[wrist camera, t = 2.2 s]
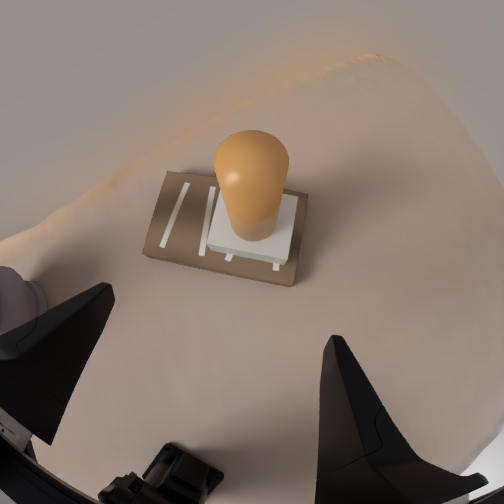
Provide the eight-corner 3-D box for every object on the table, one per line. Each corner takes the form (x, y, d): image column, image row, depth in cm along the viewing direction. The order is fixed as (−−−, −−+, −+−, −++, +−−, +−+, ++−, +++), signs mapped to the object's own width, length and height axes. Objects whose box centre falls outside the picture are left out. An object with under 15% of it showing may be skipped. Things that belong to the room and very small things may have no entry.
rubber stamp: (284, 265, 22) (310, 223, 11) (211, 250, 22) (172, 198, 12) (294, 207, 23) (321, 130, 12) (225, 194, 23) (203, 112, 13)
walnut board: (290, 287, 23) (292, 285, 22) (148, 257, 24) (142, 253, 22) (305, 200, 25) (308, 194, 23) (171, 178, 25) (167, 171, 24)
